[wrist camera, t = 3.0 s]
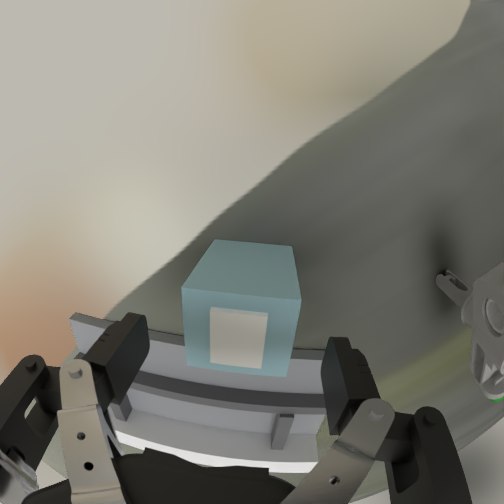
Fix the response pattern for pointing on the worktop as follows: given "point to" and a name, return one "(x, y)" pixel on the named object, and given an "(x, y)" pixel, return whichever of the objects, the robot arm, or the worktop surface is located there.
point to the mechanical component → (482, 325)
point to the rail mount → (217, 407)
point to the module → (242, 308)
